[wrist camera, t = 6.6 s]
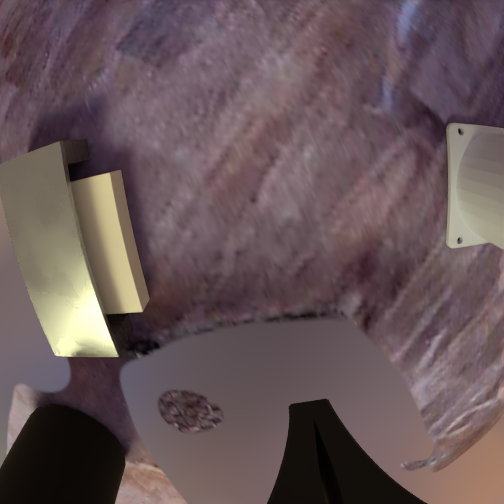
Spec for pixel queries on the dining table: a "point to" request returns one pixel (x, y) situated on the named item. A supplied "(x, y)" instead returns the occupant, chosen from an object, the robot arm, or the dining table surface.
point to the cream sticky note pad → (110, 242)
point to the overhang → (57, 252)
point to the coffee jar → (62, 461)
